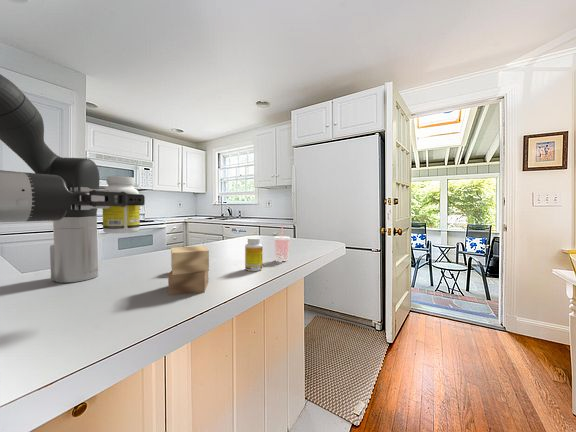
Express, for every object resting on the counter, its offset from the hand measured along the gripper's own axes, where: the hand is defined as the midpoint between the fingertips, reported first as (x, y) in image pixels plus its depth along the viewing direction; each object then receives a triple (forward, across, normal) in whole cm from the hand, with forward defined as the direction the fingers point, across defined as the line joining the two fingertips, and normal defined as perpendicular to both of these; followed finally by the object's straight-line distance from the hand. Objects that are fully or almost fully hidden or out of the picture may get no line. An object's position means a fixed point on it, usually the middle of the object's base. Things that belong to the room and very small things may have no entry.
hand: (133, 200), depth 52 cm
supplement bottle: (+35, -6, +22) cm, 41 cm away
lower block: (+12, -3, +22) cm, 25 cm away
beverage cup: (+50, -7, +22) cm, 55 cm away
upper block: (+12, -2, +17) cm, 21 cm away
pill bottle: (-2, 0, +7) cm, 7 cm away
